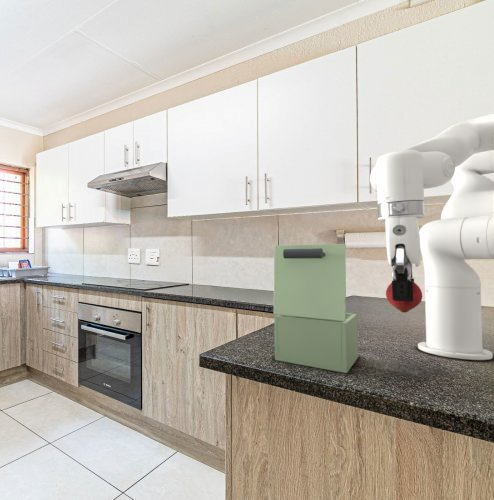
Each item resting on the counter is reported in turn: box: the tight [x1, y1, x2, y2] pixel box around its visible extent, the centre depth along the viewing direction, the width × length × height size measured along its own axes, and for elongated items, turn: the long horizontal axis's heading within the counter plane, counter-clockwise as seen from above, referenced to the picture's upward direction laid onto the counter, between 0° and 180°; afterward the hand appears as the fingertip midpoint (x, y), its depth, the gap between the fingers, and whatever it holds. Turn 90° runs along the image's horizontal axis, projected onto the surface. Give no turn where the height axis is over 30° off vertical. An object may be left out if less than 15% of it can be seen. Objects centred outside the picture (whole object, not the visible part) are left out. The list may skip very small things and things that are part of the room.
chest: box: [273, 312, 359, 374], centre depth 78 cm, size 15×14×10 cm
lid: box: [273, 243, 347, 321], centre depth 72 cm, size 15×14×5 cm
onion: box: [385, 281, 423, 314], centre depth 72 cm, size 6×6×8 cm
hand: (403, 298), depth 72 cm, fingers closed on onion, 5 cm apart
